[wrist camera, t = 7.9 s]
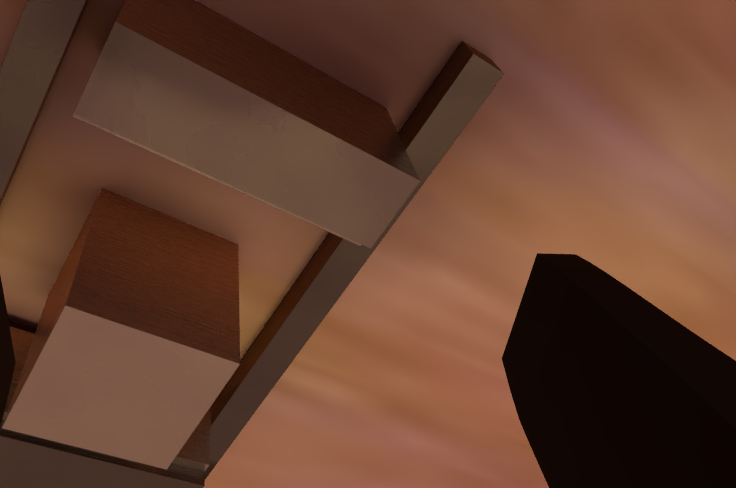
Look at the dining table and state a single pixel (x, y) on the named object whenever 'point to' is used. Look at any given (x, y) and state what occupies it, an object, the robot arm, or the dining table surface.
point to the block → (132, 336)
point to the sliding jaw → (248, 117)
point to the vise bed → (288, 323)
